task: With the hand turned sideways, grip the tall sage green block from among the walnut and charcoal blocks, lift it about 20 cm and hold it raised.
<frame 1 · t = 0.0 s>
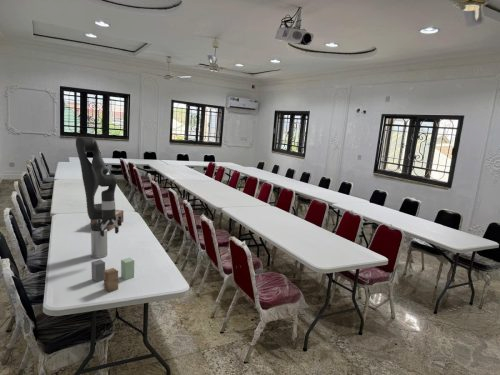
hand: (109, 234, 203), 17 cm above the table, tool pointing down, fingers open, 8 cm apart
charcoal block: (98, 279, 184), on the table
walnut block: (111, 289, 175), on the table
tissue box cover: (107, 225, 273), on the table
sage block: (127, 277, 189), on the table
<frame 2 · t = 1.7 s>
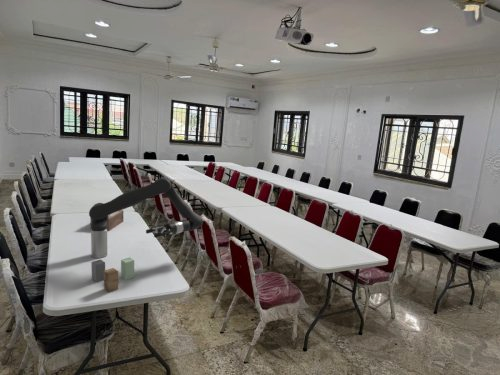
hand: (150, 233, 195), 22 cm above the table, tool horizontal, fingers open, 8 cm apart
nothing on the table moved.
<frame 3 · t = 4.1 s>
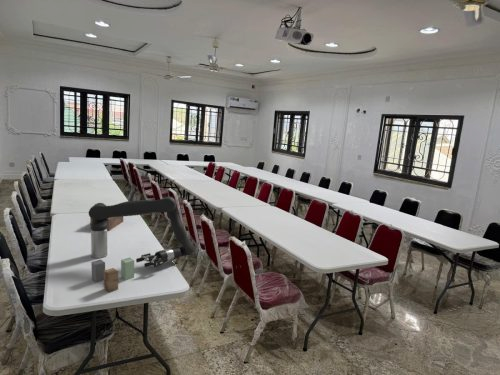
hand: (140, 263, 194), 6 cm above the table, tool horizontal, fingers open, 8 cm apart
nothing on the table moved.
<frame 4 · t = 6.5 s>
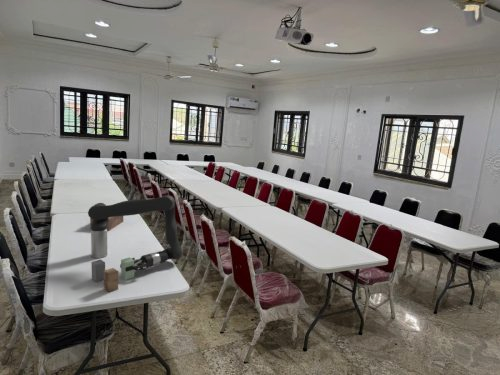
hand: (123, 268, 186), 6 cm above the table, tool horizontal, fingers closed on sage block, 5 cm apart
sage block: (127, 276, 189), on the table, touching gripper
everything else where it was.
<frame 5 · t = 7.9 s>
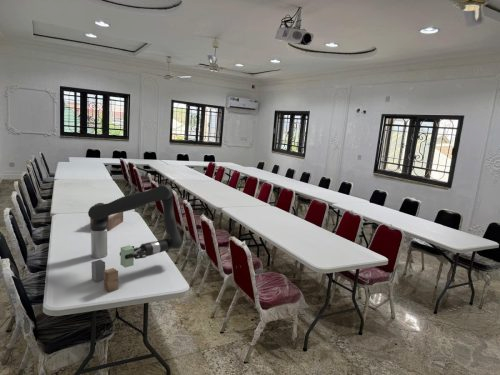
hand: (122, 255, 185), 13 cm above the table, tool horizontal, fingers closed on sage block, 5 cm apart
sage block: (127, 265, 188), point 7 cm above the table, touching gripper
everything else where it was.
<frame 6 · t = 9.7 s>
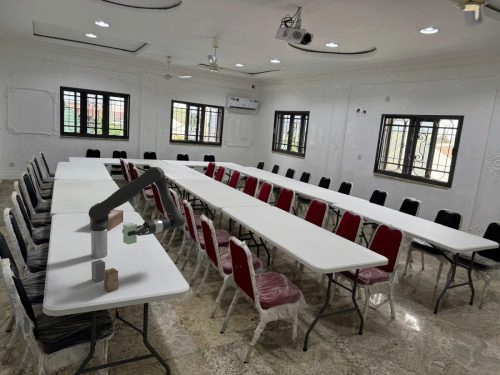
hand: (125, 232, 183), 26 cm above the table, tool horizontal, fingers closed on sage block, 5 cm apart
sage block: (129, 242, 186), point 20 cm above the table, touching gripper
everything else where it was.
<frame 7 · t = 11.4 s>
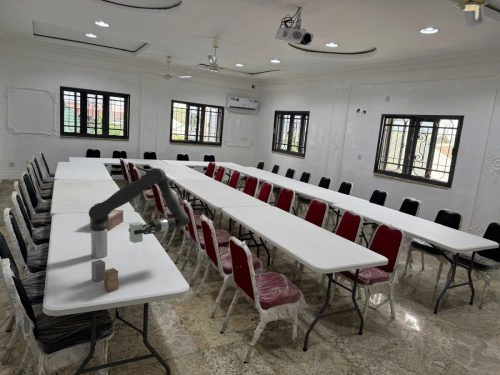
hand: (131, 231, 186), 26 cm above the table, tool horizontal, fingers closed on sage block, 5 cm apart
sage block: (136, 240, 189), point 20 cm above the table, touching gripper
everything else where it was.
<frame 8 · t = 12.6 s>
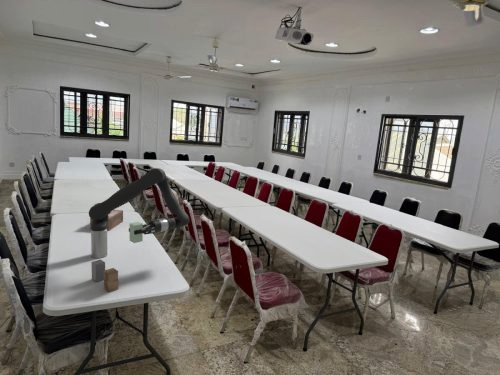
hand: (131, 231, 186), 26 cm above the table, tool horizontal, fingers closed on sage block, 5 cm apart
sage block: (136, 240, 189), point 20 cm above the table, touching gripper
everything else where it was.
at the end: the gripper is holding sage block; sage block point 19.8 cm above the table; walnut block moved 0.0 cm from its start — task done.
